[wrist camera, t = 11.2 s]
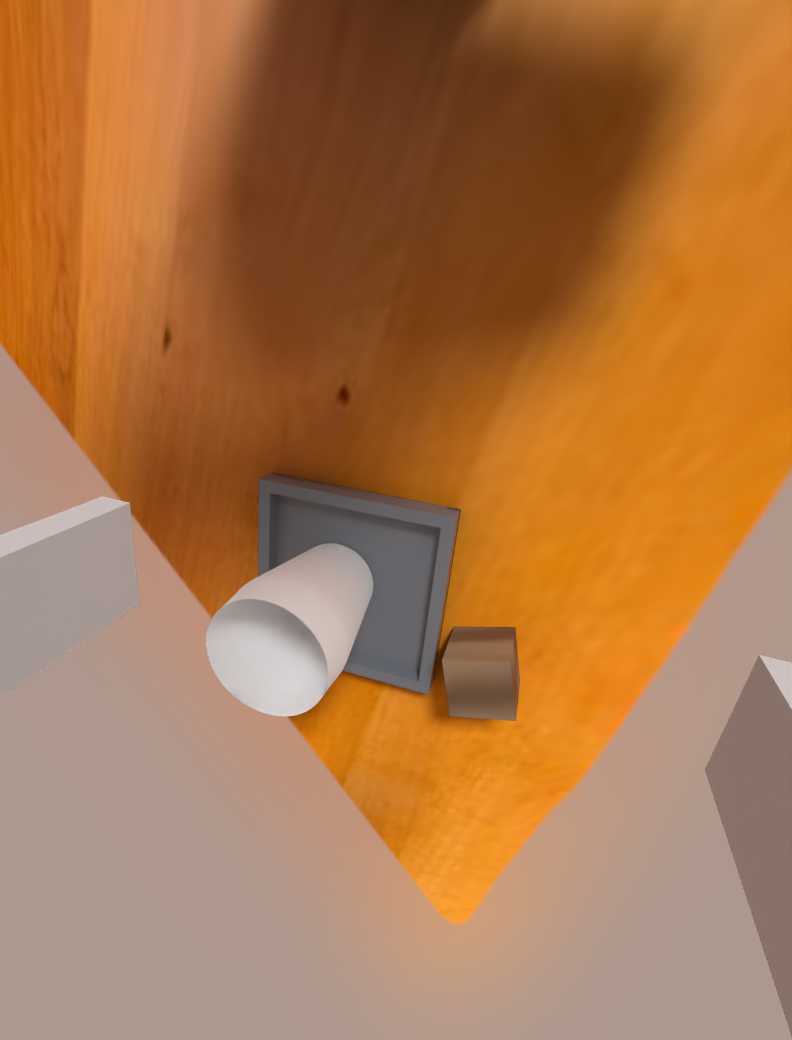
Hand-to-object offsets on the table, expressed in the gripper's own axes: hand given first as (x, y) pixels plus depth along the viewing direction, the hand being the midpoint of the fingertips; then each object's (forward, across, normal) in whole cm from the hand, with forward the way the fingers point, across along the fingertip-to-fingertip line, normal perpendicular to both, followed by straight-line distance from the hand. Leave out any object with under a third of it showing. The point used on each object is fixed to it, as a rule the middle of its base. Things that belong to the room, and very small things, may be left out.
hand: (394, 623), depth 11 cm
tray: (+28, -10, -16) cm, 33 cm away
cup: (+27, -11, -16) cm, 33 cm away
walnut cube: (+28, +2, -20) cm, 34 cm away
